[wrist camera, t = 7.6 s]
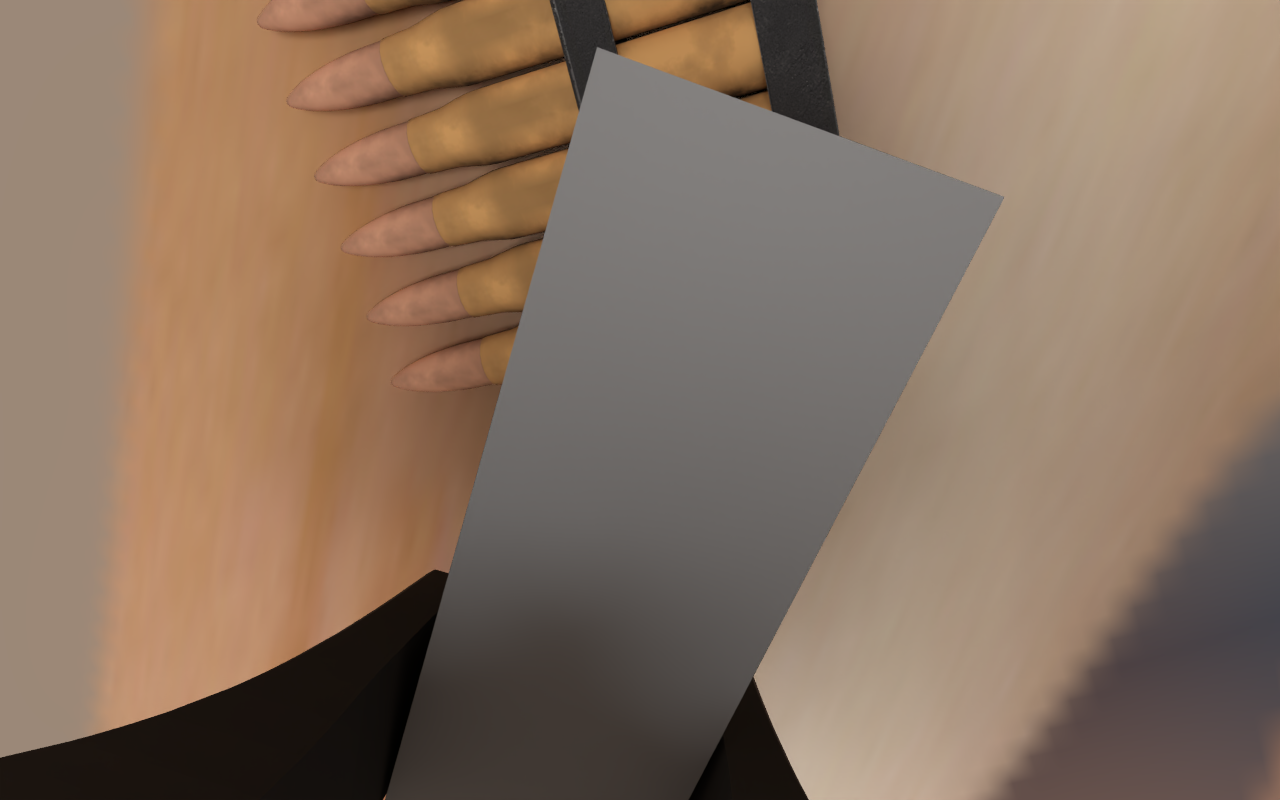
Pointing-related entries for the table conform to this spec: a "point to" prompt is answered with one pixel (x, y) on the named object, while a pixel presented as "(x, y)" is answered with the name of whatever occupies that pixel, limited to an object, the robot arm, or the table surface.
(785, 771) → the robot arm
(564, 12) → the ammunition clip
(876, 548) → the table surface
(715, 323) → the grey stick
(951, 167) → the table surface
